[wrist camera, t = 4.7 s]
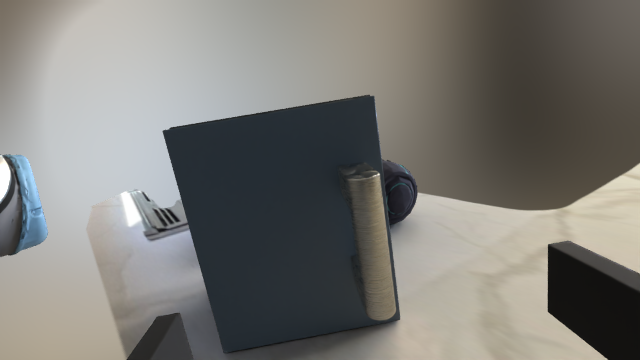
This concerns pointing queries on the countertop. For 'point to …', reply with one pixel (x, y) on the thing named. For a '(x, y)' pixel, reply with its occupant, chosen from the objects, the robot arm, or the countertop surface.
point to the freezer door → (289, 221)
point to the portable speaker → (398, 191)
